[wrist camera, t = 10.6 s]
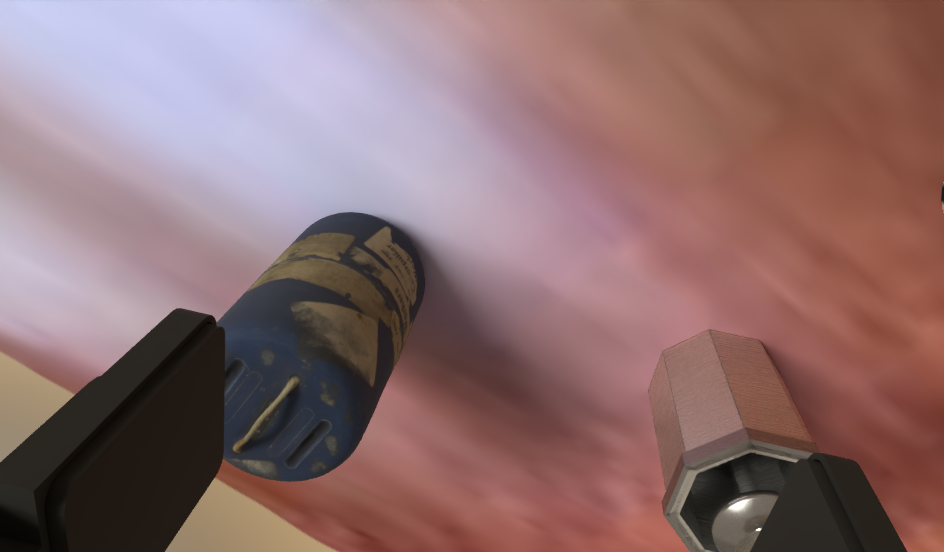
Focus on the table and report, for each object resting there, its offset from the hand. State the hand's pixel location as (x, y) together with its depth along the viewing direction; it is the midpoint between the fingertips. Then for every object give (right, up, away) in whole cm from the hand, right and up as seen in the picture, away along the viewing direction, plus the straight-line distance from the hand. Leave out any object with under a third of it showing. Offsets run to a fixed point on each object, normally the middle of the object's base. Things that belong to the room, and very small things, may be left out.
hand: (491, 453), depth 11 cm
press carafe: (+17, -6, +38) cm, 42 cm away
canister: (-8, +3, +37) cm, 38 cm away
